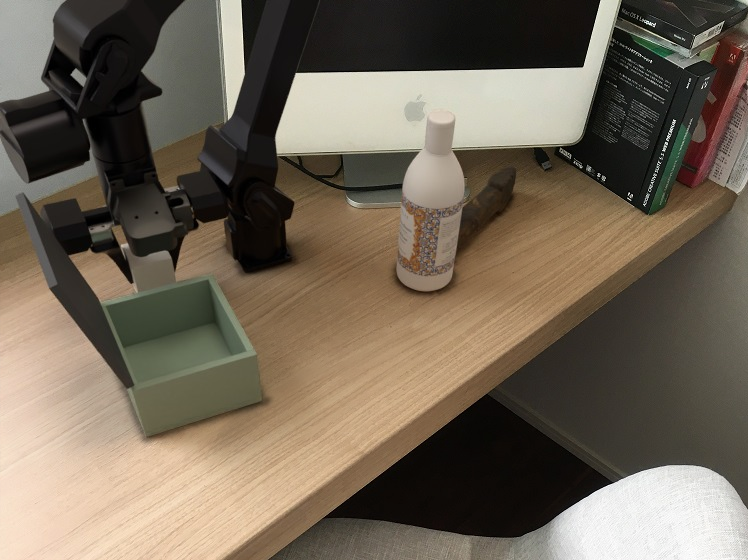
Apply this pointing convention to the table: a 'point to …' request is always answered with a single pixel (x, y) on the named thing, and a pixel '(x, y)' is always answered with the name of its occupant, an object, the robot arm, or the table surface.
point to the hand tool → (486, 203)
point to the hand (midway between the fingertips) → (151, 276)
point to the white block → (150, 269)
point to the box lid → (73, 290)
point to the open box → (183, 353)
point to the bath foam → (431, 209)
